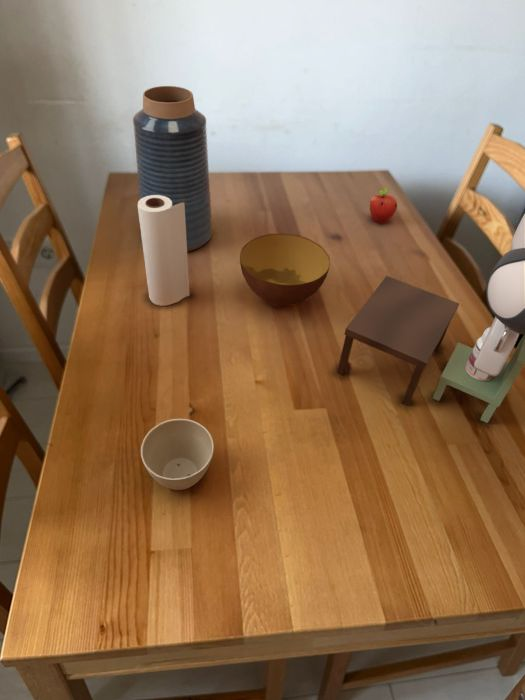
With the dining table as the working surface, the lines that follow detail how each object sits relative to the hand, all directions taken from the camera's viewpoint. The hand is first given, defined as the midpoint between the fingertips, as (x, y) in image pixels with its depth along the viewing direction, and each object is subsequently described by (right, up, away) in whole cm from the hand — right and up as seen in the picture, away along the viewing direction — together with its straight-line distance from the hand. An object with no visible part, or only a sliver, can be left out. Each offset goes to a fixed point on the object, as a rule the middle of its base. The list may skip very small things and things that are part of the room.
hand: (488, 357), depth 84 cm
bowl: (-33, +12, +23) cm, 42 cm away
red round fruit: (-7, +34, +48) cm, 59 cm away
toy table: (-13, -1, +12) cm, 18 cm away
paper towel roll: (-57, +12, +21) cm, 62 cm away
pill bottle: (-1, -2, +2) cm, 4 cm away
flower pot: (-49, -17, -8) cm, 53 cm away
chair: (-1, -6, +7) cm, 9 cm away
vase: (-57, +29, +38) cm, 74 cm away
